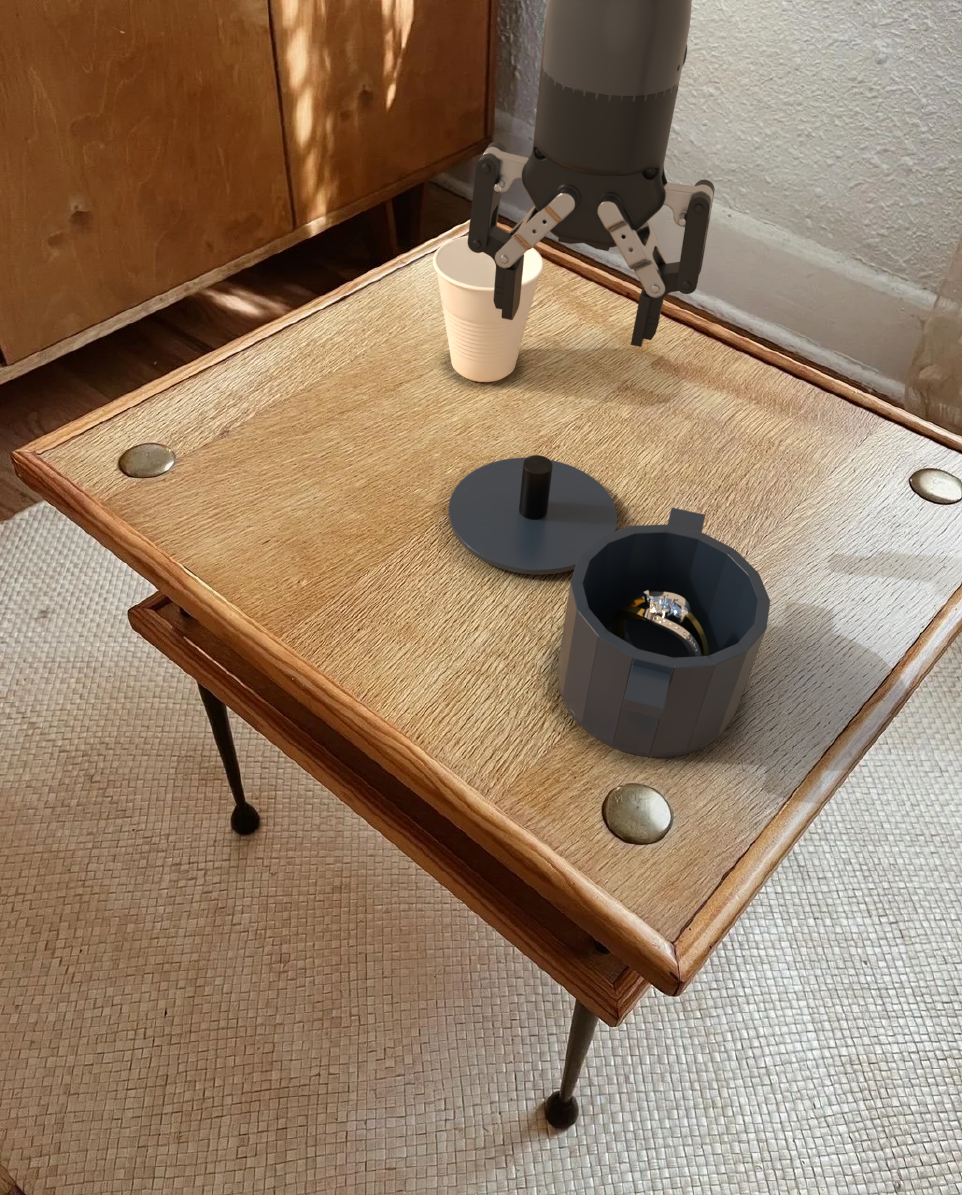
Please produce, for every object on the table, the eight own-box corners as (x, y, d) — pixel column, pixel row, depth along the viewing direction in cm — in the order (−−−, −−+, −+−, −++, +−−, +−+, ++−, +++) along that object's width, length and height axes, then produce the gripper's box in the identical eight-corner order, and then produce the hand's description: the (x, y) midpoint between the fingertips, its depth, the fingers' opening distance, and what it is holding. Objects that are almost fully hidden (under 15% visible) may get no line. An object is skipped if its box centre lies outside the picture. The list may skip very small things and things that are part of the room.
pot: (749, 615, 78) (781, 523, 71) (719, 812, 66) (754, 723, 59) (586, 577, 80) (602, 483, 73) (529, 761, 68) (541, 669, 61)
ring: (597, 662, 73) (612, 584, 67) (625, 640, 75) (643, 561, 69) (673, 721, 70) (696, 644, 64) (702, 695, 72) (727, 618, 66)
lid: (629, 487, 88) (640, 431, 83) (596, 597, 78) (606, 541, 74) (475, 453, 90) (478, 397, 86) (426, 557, 81) (426, 499, 76)
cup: (551, 385, 97) (562, 279, 89) (453, 404, 95) (456, 297, 87) (510, 330, 104) (518, 227, 96) (417, 347, 101) (417, 242, 93)
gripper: (464, 65, 53) (452, 335, 65) (737, 110, 51) (673, 381, 63) (501, 19, 58) (484, 278, 70) (751, 59, 56) (690, 319, 68)
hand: (573, 326), depth 67 cm, fingers open, 8 cm apart
